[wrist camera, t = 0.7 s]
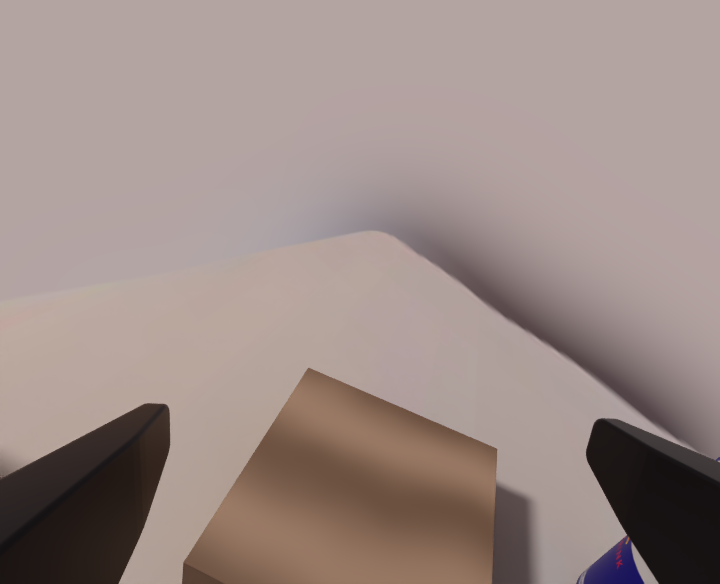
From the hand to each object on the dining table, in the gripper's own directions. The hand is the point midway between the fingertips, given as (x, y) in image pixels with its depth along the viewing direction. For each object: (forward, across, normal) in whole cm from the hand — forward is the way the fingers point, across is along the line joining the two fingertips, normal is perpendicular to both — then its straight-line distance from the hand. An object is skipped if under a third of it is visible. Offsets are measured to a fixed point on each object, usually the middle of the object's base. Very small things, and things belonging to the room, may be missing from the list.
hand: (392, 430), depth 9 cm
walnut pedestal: (+10, -1, +14) cm, 17 cm away
